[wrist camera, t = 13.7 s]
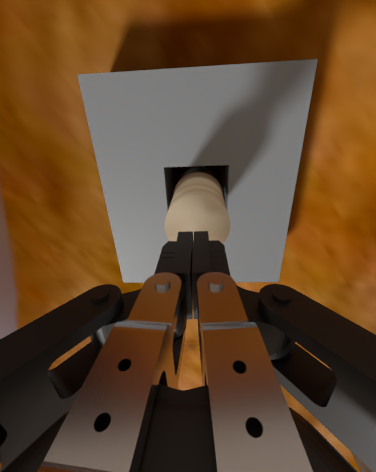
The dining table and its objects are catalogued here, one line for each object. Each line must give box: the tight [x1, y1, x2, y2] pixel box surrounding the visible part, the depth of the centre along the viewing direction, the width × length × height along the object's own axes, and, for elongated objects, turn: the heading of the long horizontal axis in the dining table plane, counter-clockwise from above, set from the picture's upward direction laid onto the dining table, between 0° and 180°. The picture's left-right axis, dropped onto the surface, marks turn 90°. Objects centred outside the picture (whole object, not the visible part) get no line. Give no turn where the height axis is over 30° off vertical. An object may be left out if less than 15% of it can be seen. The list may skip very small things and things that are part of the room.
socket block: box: [78, 59, 318, 282], centre depth 21 cm, size 18×16×5 cm
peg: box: [165, 166, 230, 244], centre depth 18 cm, size 4×4×11 cm
